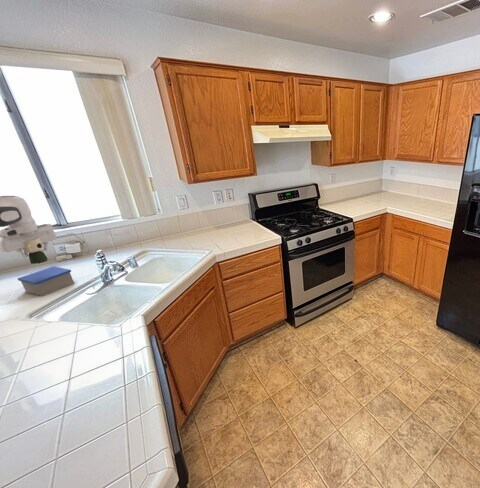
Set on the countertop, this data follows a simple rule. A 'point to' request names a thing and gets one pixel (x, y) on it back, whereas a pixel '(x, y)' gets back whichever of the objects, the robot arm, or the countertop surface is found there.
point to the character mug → (35, 251)
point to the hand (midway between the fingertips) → (35, 253)
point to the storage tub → (46, 280)
